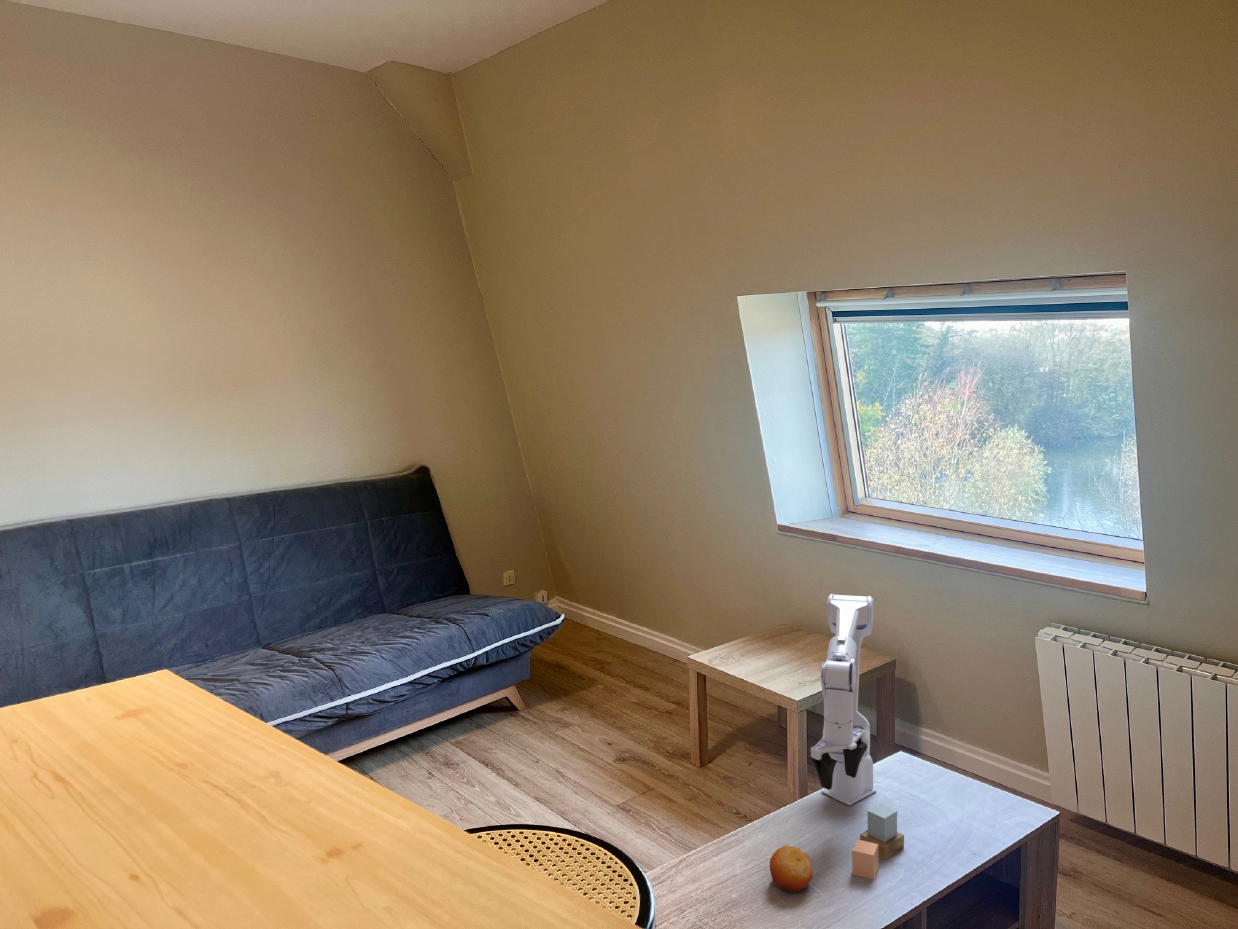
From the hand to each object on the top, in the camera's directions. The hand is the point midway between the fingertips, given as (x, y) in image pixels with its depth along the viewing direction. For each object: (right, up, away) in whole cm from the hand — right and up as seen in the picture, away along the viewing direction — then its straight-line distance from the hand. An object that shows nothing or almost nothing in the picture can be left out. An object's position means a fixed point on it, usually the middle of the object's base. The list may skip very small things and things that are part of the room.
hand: (838, 781), depth 187 cm
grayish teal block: (+7, -8, -6) cm, 13 cm away
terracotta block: (+2, -13, -13) cm, 18 cm away
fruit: (-13, -14, -16) cm, 25 cm away
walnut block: (+7, -11, -5) cm, 15 cm away
